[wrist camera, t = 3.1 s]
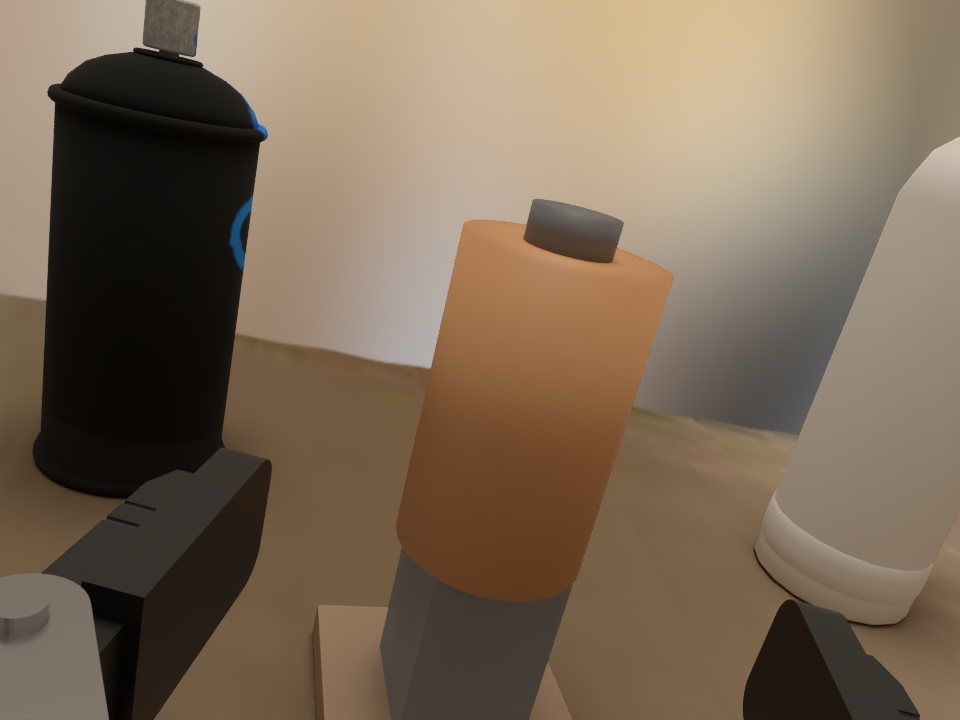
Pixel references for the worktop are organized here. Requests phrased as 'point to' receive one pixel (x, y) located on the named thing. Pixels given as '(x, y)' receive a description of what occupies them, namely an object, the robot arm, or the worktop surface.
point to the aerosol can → (143, 260)
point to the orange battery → (527, 400)
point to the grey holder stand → (437, 655)
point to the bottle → (882, 423)
